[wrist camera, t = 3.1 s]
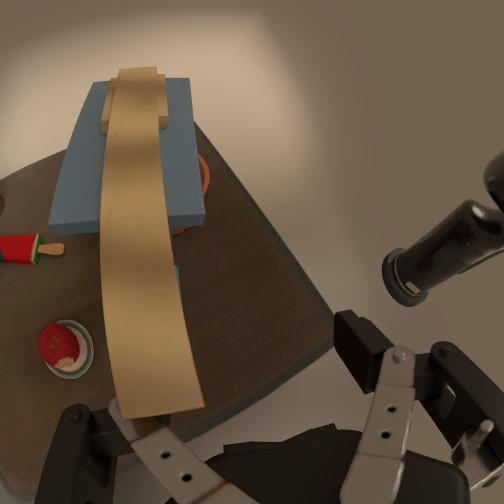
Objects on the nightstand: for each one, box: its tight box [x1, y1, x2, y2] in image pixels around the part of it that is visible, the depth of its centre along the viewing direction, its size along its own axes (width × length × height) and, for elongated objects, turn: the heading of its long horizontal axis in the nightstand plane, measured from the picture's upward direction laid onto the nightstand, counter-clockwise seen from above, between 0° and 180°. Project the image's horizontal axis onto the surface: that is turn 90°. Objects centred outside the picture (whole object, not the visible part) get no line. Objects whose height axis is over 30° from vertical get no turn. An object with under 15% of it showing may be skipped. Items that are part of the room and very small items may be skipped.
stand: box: [48, 78, 205, 315], centre depth 25 cm, size 12×8×28 cm, turn 12°
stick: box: [100, 67, 205, 420], centre depth 11 cm, size 18×4×2 cm, turn 16°
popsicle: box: [0, 234, 65, 264], centre depth 33 cm, size 4×2×15 cm
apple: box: [37, 320, 94, 379], centre depth 27 cm, size 8×8×6 cm
